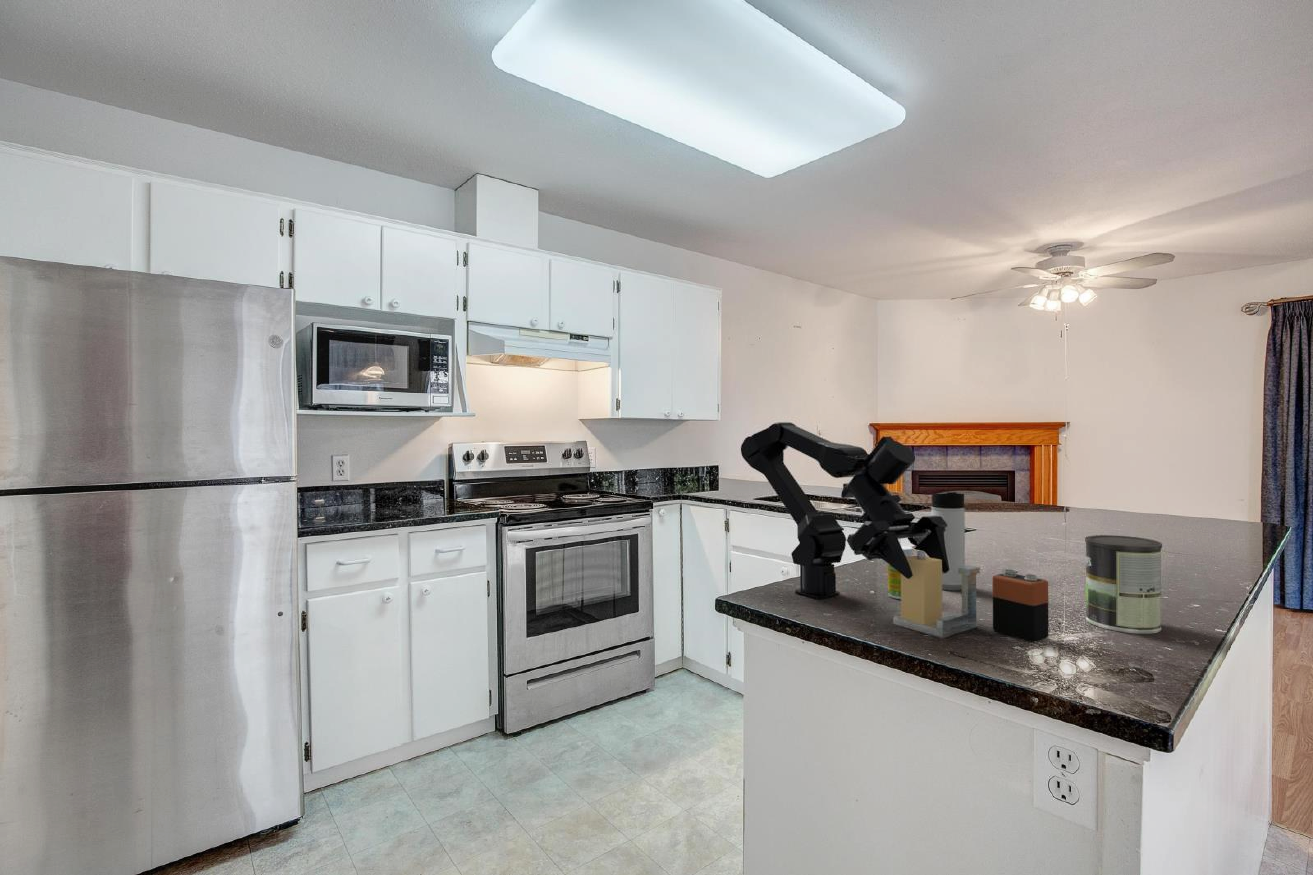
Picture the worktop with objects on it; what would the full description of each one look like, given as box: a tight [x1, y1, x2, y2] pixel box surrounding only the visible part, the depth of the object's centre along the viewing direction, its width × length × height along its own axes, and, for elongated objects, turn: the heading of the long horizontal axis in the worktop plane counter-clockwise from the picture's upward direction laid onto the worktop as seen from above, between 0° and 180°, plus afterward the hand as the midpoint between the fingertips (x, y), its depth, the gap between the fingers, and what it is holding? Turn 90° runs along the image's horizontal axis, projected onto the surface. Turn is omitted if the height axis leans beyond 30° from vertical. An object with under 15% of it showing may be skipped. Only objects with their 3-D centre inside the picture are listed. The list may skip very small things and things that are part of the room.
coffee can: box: [1084, 534, 1163, 635], centre depth 105 cm, size 10×10×14 cm
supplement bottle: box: [887, 545, 914, 600], centre depth 124 cm, size 5×5×10 cm
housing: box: [900, 550, 943, 625], centre depth 105 cm, size 4×4×11 cm
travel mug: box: [930, 491, 966, 592], centre depth 131 cm, size 6×7×20 cm
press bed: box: [892, 564, 981, 639], centre depth 106 cm, size 10×10×10 cm
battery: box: [992, 568, 1049, 643], centre depth 101 cm, size 4×7×10 cm, turn 29°
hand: (929, 574), depth 104 cm, fingers open, 9 cm apart
